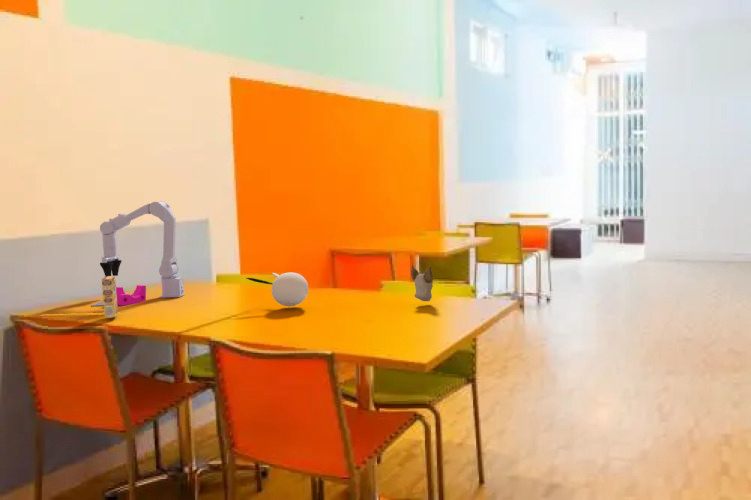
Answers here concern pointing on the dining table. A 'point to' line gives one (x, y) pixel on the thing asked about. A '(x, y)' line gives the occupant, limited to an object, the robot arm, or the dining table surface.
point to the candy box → (109, 296)
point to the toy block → (131, 299)
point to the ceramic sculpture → (422, 284)
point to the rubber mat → (99, 304)
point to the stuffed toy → (287, 288)
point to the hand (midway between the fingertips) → (111, 276)
